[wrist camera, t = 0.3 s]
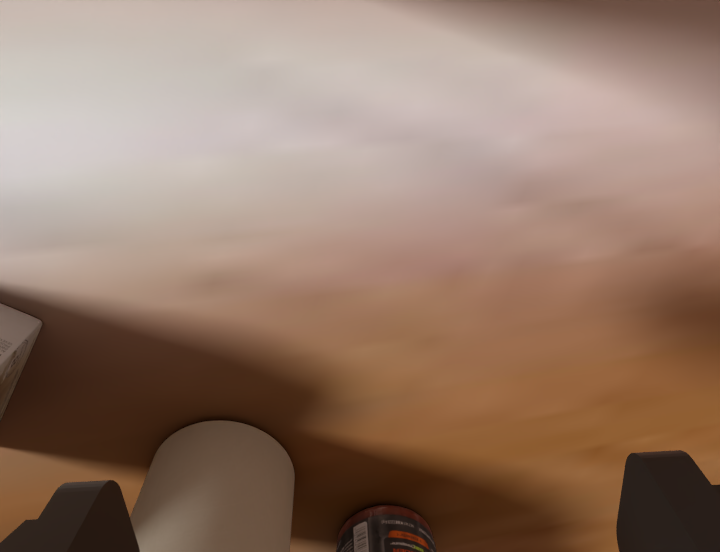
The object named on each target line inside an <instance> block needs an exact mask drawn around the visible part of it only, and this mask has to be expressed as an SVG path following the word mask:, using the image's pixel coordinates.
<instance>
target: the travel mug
mask: <svg viewBox="0 0 720 552" xmlns="http://www.w3.org/2000/svg"><path fill="white" fill-rule="evenodd" d="M294 482H295V473H294V468H293V464H292V462H291V459H290V457H289V456H288V454H287V452H286V451H285V449H284V448H283V447H282V446H281V445H280V444H279V443H278V442H277V441H276V440H275V439H274V438H272V437H271V436H270V435H268V434H267V433H265V432H263V431H261V430H259V429H257V428H255V427H252V426H250V425H247V424H243V423H239V422H233V421H222V420H218V421H205V422H200V423H196V424H192V425H190V426H187V427H185V428H182V429H180V430H179V431H177V432H175V433H174V434H172V435H171V436H170V437H168V438H167V439H166V440H165V441H164V442H163V443H162V444H161V446H160V447H159V448H158V450H157V452H156V454H155V455H154V458H153V460H152V463H151V466H150V468H149V471H148V473H147V476H146V478H145V481H144V483H143V486H142V488H141V491H140V494H139V496H138V499H137V501H136V504H135V506H134V509H133V511H132V514H131V517H130V520H131V523H132V526H133V530H134V533H135V536H136V539H137V542H138V545H139V549H140V552H290V539H291V525H292V511H293V496H294Z"/></svg>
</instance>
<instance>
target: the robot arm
mask: <svg viewBox="0 0 720 552" xmlns="http://www.w3.org/2000/svg"><path fill="white" fill-rule="evenodd" d="M617 541H618V547H619V551H620V552H720V485H711V484H710V482H709V481H708V479H707V478H706V477H705V475H704V474H703V473H702V471H701V470H700V469H699V467H698V466H697V465H696V463H695V462H694V461H693V459H692V458H691V457H690V456H689V455H688V454H687V453H686V452H684V451H681V450H679V451H661V452H643V453H631V454H630V455H629V456H628V457H627V460H626V464H625V471H624V478H623V485H622V491H621V498H620V505H619V512H618V519H617ZM0 552H140V549H139V545H138V542H137V539H136V536H135V533H134V530H133V526H132V523H131V520H130V517H129V514H128V511H127V508H126V504H125V501H124V498H123V495H122V492H121V489H120V487H119V485H118V484H117V483H116V482H115V481H113V480H108V481H90V482H72V483H64V484H63V485H61V486H60V487H59V488H58V489H57V490H56V492H55V493H54V495H53V496H52V498H51V499H50V501H49V502H48V504H47V506H46V507H45V509H44V510H43V512H42V513H41V515H40V517H39V518H38V519H36V520H26V521H24V522H23V523H22V524H21V525H20V526H19V527H18V528H17V529H15V530H14V531H13V532H12V533H11V534H10V535H9V536H8V537H6V538H5V539H4V540H3V541H2V542H1V543H0Z"/></svg>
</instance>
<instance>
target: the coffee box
mask: <svg viewBox="0 0 720 552" xmlns="http://www.w3.org/2000/svg"><path fill="white" fill-rule="evenodd" d="M41 326H42V322H41V321H40V320H39V319H37V318H35V317H32V316H30V315H28V314H25V313H23V312H20V311H18V310H15V309H13V308H11V307H8V306H6V305H3V304H1V303H0V421H1V418H2V416H3V414H4V411H5V409H6V407H7V404H8V402H9V400H10V397H11V395H12V393H13V390H14V388H15V386H16V384H17V381H18V379H19V377H20V375H21V372H22V370H23V368H24V366H25V363H26V361H27V359H28V357H29V354H30V352H31V350H32V347H33V345H34V343H35V340H36V338H37V336H38V334H39V331H40V329H41Z"/></svg>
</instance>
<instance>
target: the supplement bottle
mask: <svg viewBox="0 0 720 552" xmlns="http://www.w3.org/2000/svg"><path fill="white" fill-rule="evenodd" d="M336 552H436V547H435V542H434V540H433V535H432V531H431V529H430V527H429V525H428V524H427V523H426V521H425V520H424V519H423V518H422V517H421V516H420V515H418V514H417V513H415V512H414V511H412V510H410V509H407V508H403V507H400V506H392V505H383V506H381V505H380V506H375V507H370V508H367V509H365V510H362V511H360V512H358V513H356V514H355V515H354V516H352V517H351V518H350V519H348V520H347V521H346V523H345V524H344V525H343V527H342V528H341V530H340V532H339V534H338V538H337V550H336Z"/></svg>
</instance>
